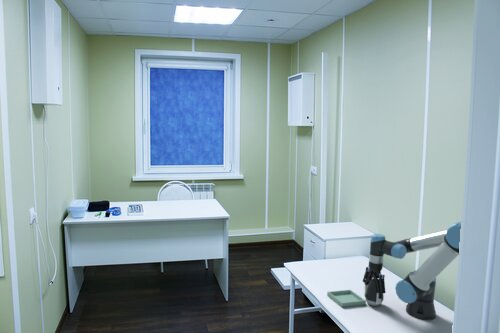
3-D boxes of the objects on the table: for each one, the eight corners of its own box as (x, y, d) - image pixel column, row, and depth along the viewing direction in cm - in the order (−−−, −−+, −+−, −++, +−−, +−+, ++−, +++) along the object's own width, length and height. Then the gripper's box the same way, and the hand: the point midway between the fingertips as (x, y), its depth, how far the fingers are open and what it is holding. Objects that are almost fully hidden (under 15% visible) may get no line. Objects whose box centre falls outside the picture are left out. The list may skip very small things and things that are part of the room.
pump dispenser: (368, 298, 237) (370, 273, 235) (385, 304, 230) (388, 278, 228) (360, 303, 229) (363, 277, 227) (378, 309, 222) (380, 283, 221)
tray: (365, 304, 228) (365, 300, 228) (341, 307, 222) (342, 303, 222) (349, 293, 242) (350, 289, 242) (327, 295, 237) (327, 291, 237)
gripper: (394, 268, 217) (391, 307, 219) (369, 255, 238) (365, 291, 241) (383, 269, 215) (379, 309, 217) (358, 255, 236) (355, 292, 238)
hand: (372, 299), depth 229 cm, fingers closed on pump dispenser, 10 cm apart
